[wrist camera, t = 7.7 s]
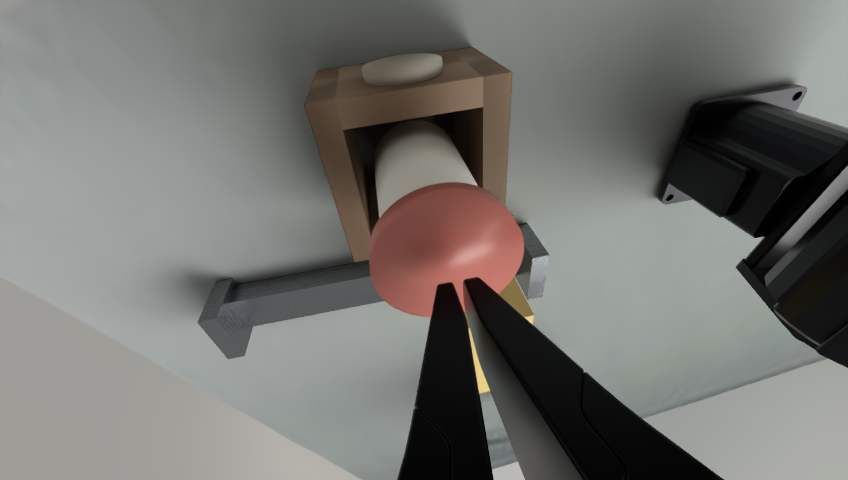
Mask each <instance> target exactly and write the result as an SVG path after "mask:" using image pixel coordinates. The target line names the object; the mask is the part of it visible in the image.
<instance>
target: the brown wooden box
mask: <svg viewBox="0 0 848 480" xmlns="http://www.w3.org/2000/svg"><path fill="white" fill-rule="evenodd" d="M511 83H512V72H511V71H509V70H508V69H506V68H505V67H503V66H502V65H500V64H498V63H497V62H495V61H494V60H492V59H491V58H489V57H487V56H486V55H484V54H483V53H481V52H479V51H478V50H476V49H475V48H473V47H469V48H462V49H456V50H449V51H443V52H436V53H412V54H402V55H395V56H390V57H385V58H381V59H378V60H374V61H372V62H369V63H365V64H358V65H352V66H345V67H339V68H332V69H326V70H319V71H317V73H316V75H315V78H314V81H313V83H312V86H311V89H310V91H309V94H308V96H307V99H306V102H305V104H304V106H305V109H306V112H307V115H308V119H309V122H310V125H311V128H312V131H313V134H314V137H315V141H316V144H317V147H318V150H319V153H320V156H321V159H322V162H323V166H324V169H325V172H326V175H327V178H328V181H329V184H330V188H331V191H332V194H333V197H334V200H335V203H336V206H337V209H338V213H339V216H340V219H341V222H342V225H343V228H344V231H345V235H346V238H347V241H348V244H349V247H350V250H351V253H352V256H353V260H354V262H359V261H365V260H369V242H370V237H371V234H372V231H373V229H374V227H375V225H376V223H377V221H378V220H379V210H378V200H377V191H376V185H370V186H368V183H367V179H366V174H365V170H364V166H363V162H362V158H361V154H360V149H359V145H358V141H357V137H356V133H355V128H358V127H364V126H370V125H376V124H383V123H389V122H395V121H401V120H407V119H413V118H419V117H425V116H431V115H437V114H444V113H450V112H454V124H455V143H456V149H457V150H458V152H459V154H460V156H461V157H462V159H463V161H464V162H465V164H466V166H467V168H468V169H469V171H470V173H471V175H472V176H473V178H474V180H475V182H476V183H477V185H478V186H479V187H481V188H484V189H486V190H488V191H490V192H491V193H493V194H495V195H496V196H497V197H498V198H499V199H500V200H501V201H502V202H503V203H504V204H505V202H506V182H507V162H508V142H509V123H510V103H511Z"/></svg>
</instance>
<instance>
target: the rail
mask: <svg viewBox="0 0 848 480" xmlns="http://www.w3.org/2000/svg"><path fill="white" fill-rule="evenodd" d="M518 226H519V227H520V229H521V232H522V235H523V240H524V254H523V259H522V262H521V265H520V267H519V269H518V271H517V273H516V275H515V277H516V279H517V281H518V283H519V284H520V286H521V288H522V290H523V292H524V294H525V296H526V298H527V300H528V299H533V298H538V297H542V296H543V290H544V284H545V278H546V272H547V266H548V260H549V254H548V253H547V251H546V250H545V248H544V247H543V245H542V244H541V242H540V241H539V239H538V238H537V237H536V235H535V234H534V232H533V231H532V229H531V228H530V226H529V225H528V224H523V225H518ZM381 301H384V300H383V299H382V298H381V296H380V295H379V294H378V293H377V291H376V289H375V288H374V286H373V283H372V280H371V276H370V264H369V260H368V261H362V262H357V263H352V264H346V265H341V266H336V267H330V268H325V269H320V270H314V271H309V272H304V273H298V274H293V275H287V276H282V277H277V278H271V279H266V280H261V281H255V282H250V283H245V284H239V285H236V283H235V282H234V280H233V279H232V278H231V279H226V280H220V281H216V282H215V284H214V287H213V289H212V291H211V293H210V296H209V298H208V300H207V302H206V305H205V307H204V309H203V311H202V313H201V316H200V318H199V320H198V322H197V323H198V324H199V325H200V326H201V327H202V328H203V330H204V331H205V332H206V333H207V334H208V336H209V337H210V338H211V339H212V340H213V342H214V343H215V344H216V345H217V346H218V348H219V349H220V350H221V351H222V352H223V354H224V355H225V356H226V357H227V358H228V359H231V358H236V357H241V356H245V353H246V349H247V346H248V342H249V339H250V335H251V332H252V328H253V326H257V325H262V324H267V323H273V322H278V321H283V320H288V319H293V318H298V317H304V316H309V315H314V314H319V313H324V312H329V311H335V310H340V309H345V308H350V307H355V306H360V305H365V304H371V303H376V302H381Z"/></svg>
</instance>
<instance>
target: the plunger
mask: <svg viewBox="0 0 848 480" xmlns="http://www.w3.org/2000/svg"><path fill="white" fill-rule="evenodd" d="M374 171H375V181H376V191H377V200H378V210H379V220H378V221H377V223H376V225H375V227H374V229H373V231H372V234H371V237H370V242H369V264H370V276H371V280H372V283H373V286H374V288H375V289H376V291H377V293H378V294H379V295H380V296H381V298H382V299H383V300H384V301H386V302H387V303H388V304H389V305H391V306H392V307H394V308H396V309H398V310H400V311H402V312H405V313H408V314H412V315H416V316H423V317H431V315H432V310H433V304H434V299H435V293H436V288H437V285H438V284H442V283H447V282H452V283H453V284H454V286H455V289H456V292H457V294H458V297H459V300H460V302H461V305H462V308H463V311H464V312H466V311H465V306H464V298H463V280H465V279H468V278H473V277H479V278H481V279H482V280H483V281H484V282H485V283H486V284H487V285H489V286H490V287H491V288H492V289H493V290H494V291H495V292H496V293H498V294H499V293H500V292H501V291H502V290H503V289H504V288H505V287H506V286H507V285H508V284H509V283H510V282H511V281H512V279H513V278H514V276H515V275H516V273H517V271H518V269H519V267H520V265H521V262H522V259H523V254H524V240H523V235H522V232H521V229H520V227H519V226H518V224H517V222H516V221H515V219H514V218H513V216H512V214H511V213H510V211H509V210H508V208H507V207H506V205H505V204H504V203H503V202H502V201H501V200H500V199H499V198H498V197H497V196H496V195H495V194H493V193H491V192H490V191H488V190H486V189H484V188H481V187H479V186H478V185H477V183H476V182H475V180H474V178H473V176H472V175H471V173H470V171H469V169H468V168H467V166H466V164H465V162H464V161H463V159H462V157H461V156H460V154H459V152H458V150H457V149H456V147H455V145H454V143H453V142H452V140H451V138H450V137H449V135H448V134H447V133H446V132H445V131H444V130H443V129H442V128H440V127H439V126H437V125H435V124H433V123H430V122H427V121H422V120H413V121H407V122H403V123H401V124H398V125H396V126H394V127H393V128H391V129H390V130H389V131H388V132H387V133H385V134H384V136H383V137H382V138H381V140H380V141H379V143H378V145H377V147H376V150H375V154H374Z"/></svg>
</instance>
